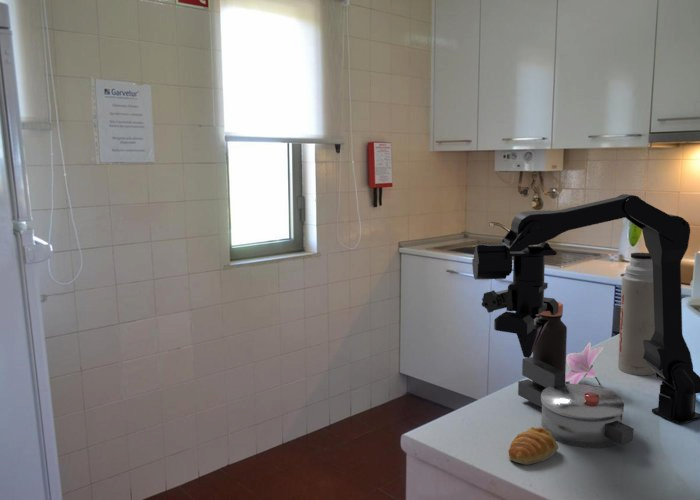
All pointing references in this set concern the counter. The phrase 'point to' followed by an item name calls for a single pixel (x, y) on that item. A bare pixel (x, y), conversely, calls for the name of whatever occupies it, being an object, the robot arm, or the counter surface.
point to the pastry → (532, 446)
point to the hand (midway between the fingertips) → (527, 356)
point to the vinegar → (552, 341)
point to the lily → (582, 364)
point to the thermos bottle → (636, 314)
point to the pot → (577, 424)
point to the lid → (571, 394)
